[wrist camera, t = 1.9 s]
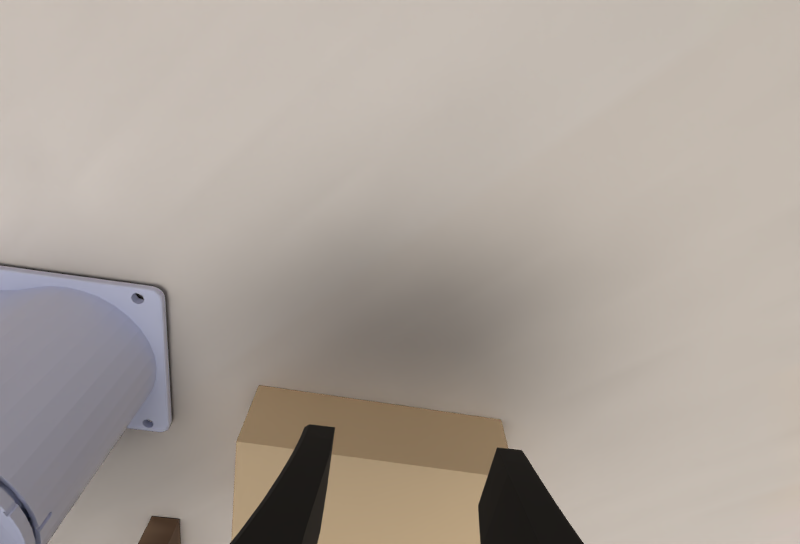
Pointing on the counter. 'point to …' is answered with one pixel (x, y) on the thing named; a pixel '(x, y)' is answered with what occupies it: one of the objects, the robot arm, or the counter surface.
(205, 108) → the counter surface
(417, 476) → the kraft carton
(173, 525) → the tray
